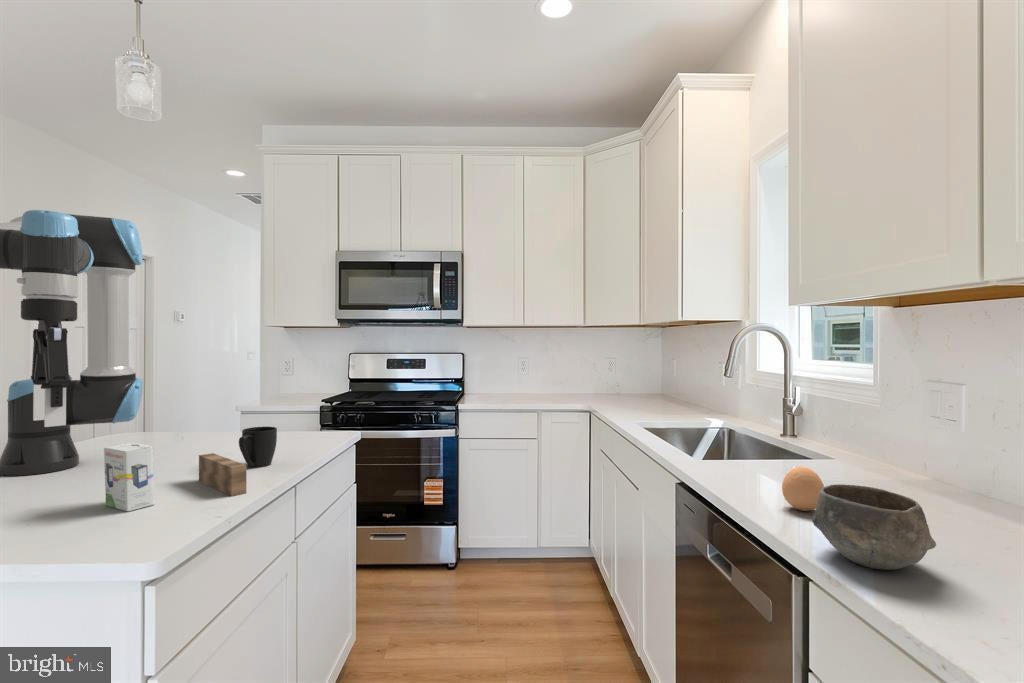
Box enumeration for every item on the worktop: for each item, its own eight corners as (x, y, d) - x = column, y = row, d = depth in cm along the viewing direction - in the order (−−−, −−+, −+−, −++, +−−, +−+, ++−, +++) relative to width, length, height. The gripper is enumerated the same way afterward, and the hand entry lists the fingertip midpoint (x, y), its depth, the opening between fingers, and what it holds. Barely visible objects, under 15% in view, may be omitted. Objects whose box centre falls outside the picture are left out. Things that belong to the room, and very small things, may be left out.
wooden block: (198, 481, 118) (198, 455, 118) (212, 478, 120) (213, 453, 120) (231, 496, 107) (231, 467, 107) (246, 493, 109) (246, 465, 109)
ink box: (155, 505, 101) (155, 445, 101) (125, 513, 96) (126, 450, 96) (132, 498, 105) (132, 441, 105) (102, 506, 100) (102, 446, 100)
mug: (224, 472, 126) (224, 433, 126) (254, 461, 138) (255, 426, 138) (255, 473, 125) (255, 434, 125) (283, 462, 137) (283, 426, 137)
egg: (778, 511, 99) (778, 467, 99) (785, 501, 105) (785, 460, 105) (822, 519, 95) (822, 473, 95) (826, 509, 101) (827, 466, 101)
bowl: (856, 584, 69) (856, 510, 69) (793, 540, 85) (793, 480, 85) (958, 584, 69) (958, 511, 69) (876, 540, 85) (877, 480, 85)
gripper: (11, 300, 96) (10, 418, 96) (32, 293, 81) (31, 432, 81) (63, 303, 101) (63, 414, 101) (92, 297, 87) (91, 426, 87)
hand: (49, 422), depth 91 cm, fingers open, 10 cm apart
